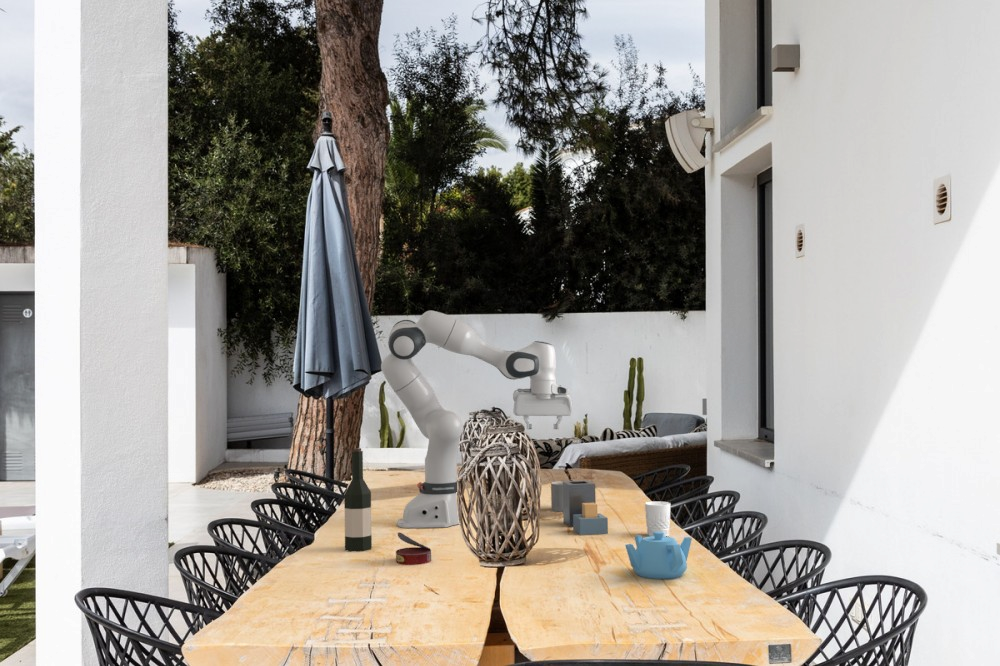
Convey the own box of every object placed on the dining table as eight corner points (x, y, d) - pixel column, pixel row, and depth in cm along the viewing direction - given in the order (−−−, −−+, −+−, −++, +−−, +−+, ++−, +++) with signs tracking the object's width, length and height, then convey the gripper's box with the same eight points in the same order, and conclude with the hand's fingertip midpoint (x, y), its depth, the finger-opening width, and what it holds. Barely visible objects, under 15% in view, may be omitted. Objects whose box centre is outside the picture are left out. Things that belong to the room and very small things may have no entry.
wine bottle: (349, 552, 272) (348, 450, 273) (340, 547, 280) (339, 448, 280) (376, 549, 276) (375, 448, 277) (367, 544, 283) (365, 446, 284)
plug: (585, 526, 296) (585, 504, 296) (582, 524, 300) (582, 503, 300) (597, 526, 296) (597, 504, 297) (594, 524, 300) (594, 502, 301)
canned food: (399, 575, 262) (397, 541, 267) (434, 571, 262) (432, 537, 267) (392, 565, 252) (390, 529, 257) (429, 560, 252) (426, 525, 257)
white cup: (673, 533, 292) (673, 502, 293) (667, 538, 285) (666, 505, 285) (649, 532, 296) (648, 500, 296) (642, 536, 288) (641, 504, 289)
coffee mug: (552, 512, 337) (552, 484, 337) (550, 508, 347) (550, 481, 347) (589, 511, 337) (588, 484, 338) (586, 507, 347) (585, 480, 347)
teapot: (622, 578, 235) (621, 536, 235) (635, 565, 249) (634, 525, 249) (683, 583, 229) (682, 539, 229) (693, 569, 243) (692, 528, 244)
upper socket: (569, 527, 307) (568, 484, 307) (563, 522, 315) (562, 481, 316) (596, 526, 308) (595, 483, 309) (589, 521, 317) (588, 480, 317)
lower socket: (580, 535, 293) (580, 519, 293) (573, 530, 302) (573, 514, 302) (607, 533, 294) (607, 517, 294) (600, 528, 303) (599, 513, 303)
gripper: (514, 388, 313) (514, 429, 312) (573, 389, 316) (573, 429, 316) (511, 388, 319) (511, 428, 319) (569, 388, 322) (569, 428, 322)
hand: (542, 429), depth 317 cm, fingers open, 8 cm apart
